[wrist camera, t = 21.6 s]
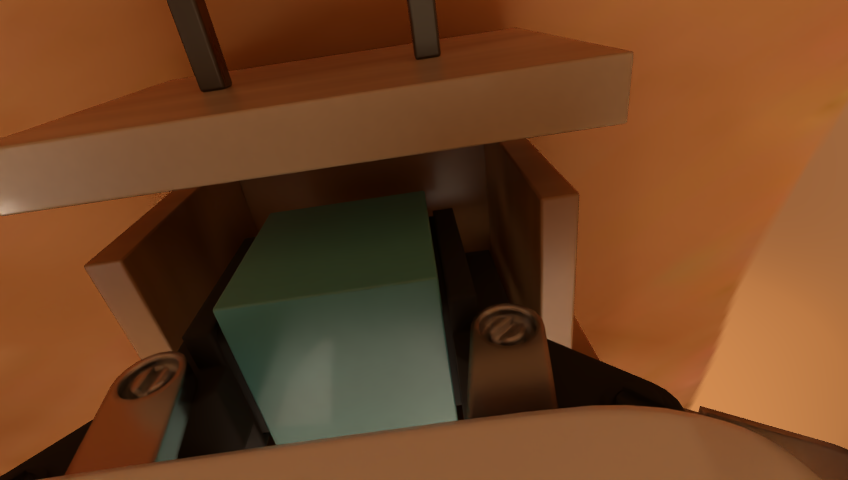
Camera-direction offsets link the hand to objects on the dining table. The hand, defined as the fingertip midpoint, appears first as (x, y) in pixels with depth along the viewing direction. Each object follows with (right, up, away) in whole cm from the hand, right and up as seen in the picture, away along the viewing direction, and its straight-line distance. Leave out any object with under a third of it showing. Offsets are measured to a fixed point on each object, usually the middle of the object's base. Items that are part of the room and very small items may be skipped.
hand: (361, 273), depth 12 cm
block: (0, 0, 0) cm, 0 cm away
